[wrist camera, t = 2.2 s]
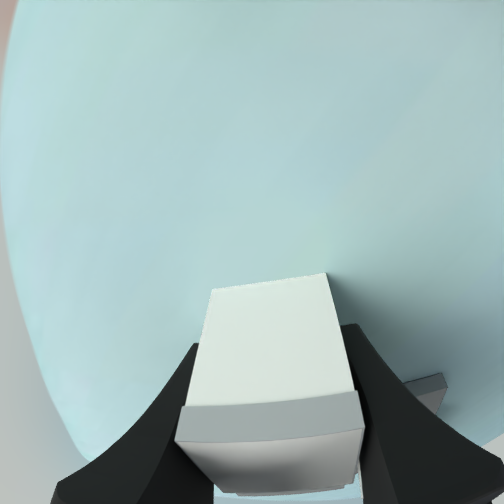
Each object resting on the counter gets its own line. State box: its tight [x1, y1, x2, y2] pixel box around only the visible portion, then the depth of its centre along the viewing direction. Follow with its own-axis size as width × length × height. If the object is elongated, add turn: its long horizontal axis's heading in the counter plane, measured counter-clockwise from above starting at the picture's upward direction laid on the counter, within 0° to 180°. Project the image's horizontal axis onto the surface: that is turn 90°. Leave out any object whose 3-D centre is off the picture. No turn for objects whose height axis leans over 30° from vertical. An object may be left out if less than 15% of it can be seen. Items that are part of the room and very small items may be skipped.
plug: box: [175, 273, 365, 493], centre depth 9 cm, size 4×4×6 cm
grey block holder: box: [236, 373, 448, 499], centre depth 15 cm, size 13×10×4 cm
